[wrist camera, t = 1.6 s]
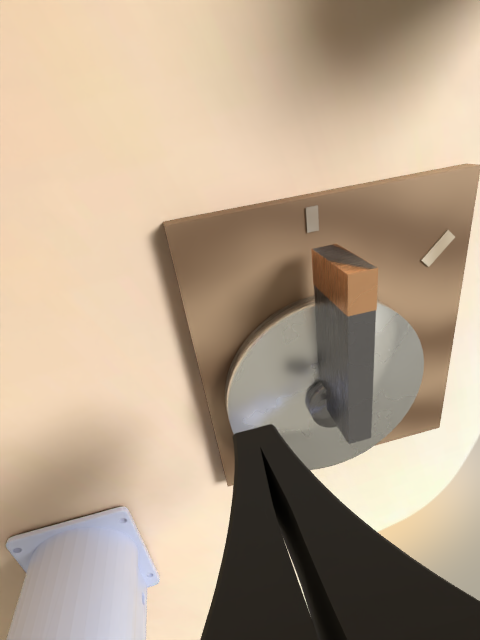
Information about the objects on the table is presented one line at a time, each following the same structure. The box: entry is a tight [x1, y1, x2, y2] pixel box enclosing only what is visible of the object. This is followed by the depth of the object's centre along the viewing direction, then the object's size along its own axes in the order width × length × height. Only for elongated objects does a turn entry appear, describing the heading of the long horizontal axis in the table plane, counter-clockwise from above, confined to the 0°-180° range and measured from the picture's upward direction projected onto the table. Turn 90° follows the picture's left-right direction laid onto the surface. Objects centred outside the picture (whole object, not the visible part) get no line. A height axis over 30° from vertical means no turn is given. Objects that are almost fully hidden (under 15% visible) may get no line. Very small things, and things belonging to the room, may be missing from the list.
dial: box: [225, 244, 424, 470], centre depth 19 cm, size 15×12×5 cm
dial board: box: [164, 164, 480, 486], centre depth 22 cm, size 18×16×1 cm
